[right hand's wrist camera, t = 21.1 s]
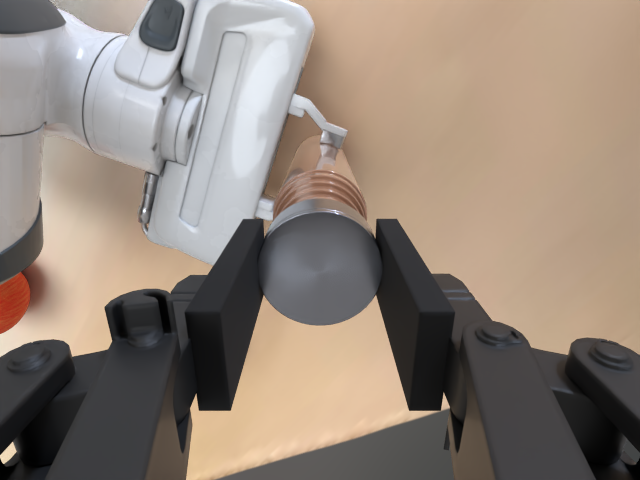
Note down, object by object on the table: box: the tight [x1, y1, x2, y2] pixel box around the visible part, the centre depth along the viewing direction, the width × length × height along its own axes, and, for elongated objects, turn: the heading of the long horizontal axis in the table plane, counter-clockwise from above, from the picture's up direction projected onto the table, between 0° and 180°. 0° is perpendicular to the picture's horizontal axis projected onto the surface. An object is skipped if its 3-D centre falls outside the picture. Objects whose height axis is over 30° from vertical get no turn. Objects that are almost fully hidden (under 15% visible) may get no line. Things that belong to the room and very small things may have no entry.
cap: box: [257, 198, 382, 325], centre depth 14 cm, size 4×4×2 cm
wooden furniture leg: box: [273, 135, 367, 221], centre depth 24 cm, size 5×5×24 cm
